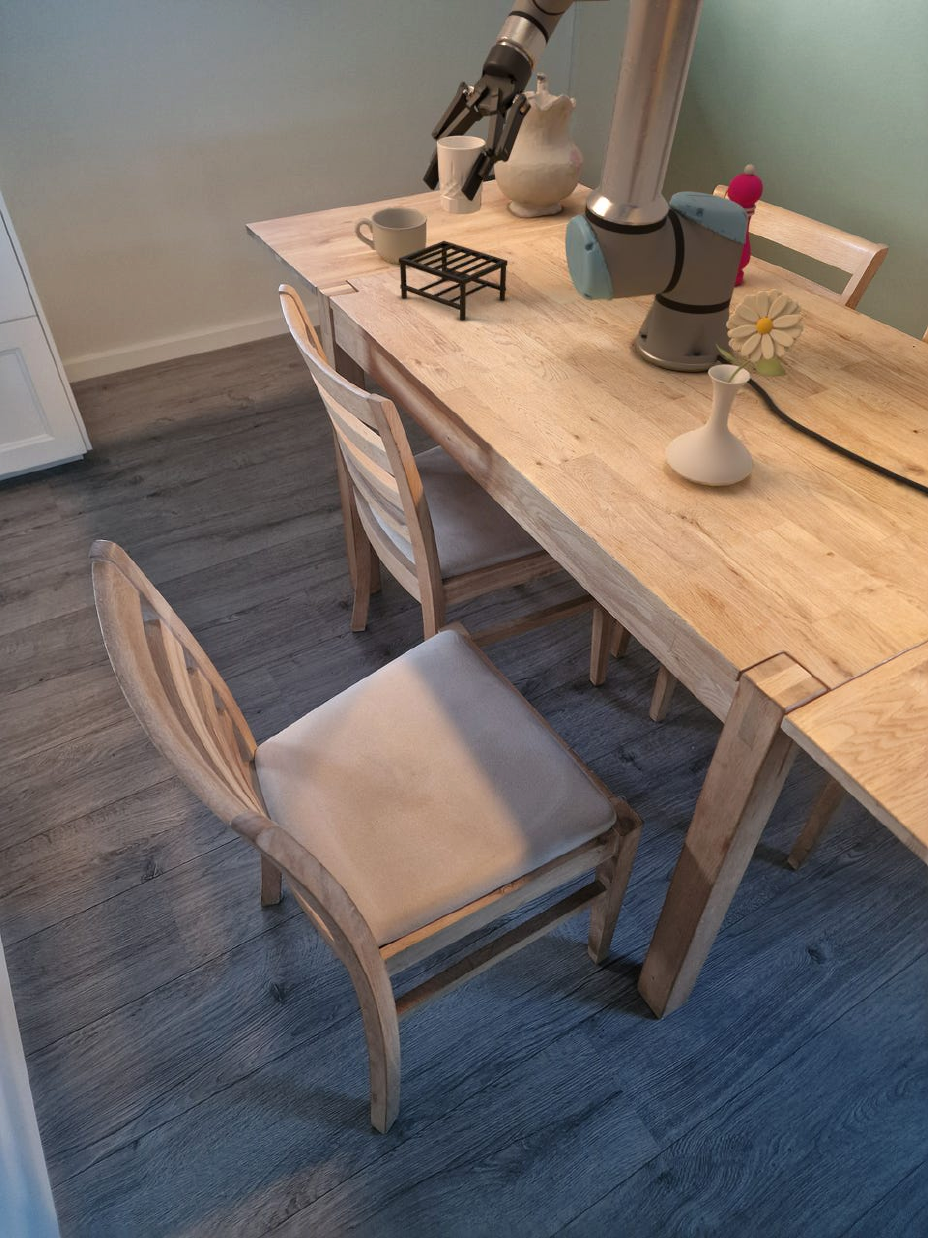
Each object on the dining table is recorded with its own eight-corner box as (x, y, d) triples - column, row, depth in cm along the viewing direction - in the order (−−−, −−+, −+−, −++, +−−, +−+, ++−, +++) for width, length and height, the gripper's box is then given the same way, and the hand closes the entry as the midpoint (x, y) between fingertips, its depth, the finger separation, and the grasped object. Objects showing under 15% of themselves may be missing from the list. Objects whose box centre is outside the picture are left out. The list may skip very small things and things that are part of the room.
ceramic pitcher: (486, 198, 197) (480, 75, 179) (566, 187, 198) (568, 64, 181) (505, 230, 181) (501, 99, 164) (592, 218, 183) (597, 87, 165)
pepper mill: (752, 284, 157) (780, 168, 144) (720, 289, 155) (745, 172, 142) (730, 270, 162) (755, 156, 149) (698, 275, 160) (721, 160, 147)
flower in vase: (645, 469, 111) (680, 280, 94) (694, 437, 117) (735, 254, 100) (730, 510, 105) (784, 316, 87) (777, 475, 110) (837, 286, 93)
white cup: (432, 202, 143) (431, 137, 136) (476, 198, 145) (477, 133, 138) (445, 217, 138) (444, 150, 131) (490, 213, 139) (492, 146, 132)
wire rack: (506, 299, 151) (507, 260, 147) (463, 320, 145) (463, 280, 140) (444, 278, 158) (443, 240, 154) (400, 297, 152) (398, 258, 147)
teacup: (431, 249, 169) (430, 207, 164) (424, 270, 161) (422, 226, 156) (363, 247, 170) (360, 205, 165) (353, 266, 162) (349, 223, 157)
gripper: (573, 85, 133) (505, 217, 135) (474, 66, 143) (413, 190, 145) (556, 49, 126) (485, 189, 129) (454, 33, 136) (390, 163, 138)
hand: (447, 189), depth 137 cm, fingers closed on white cup, 8 cm apart
